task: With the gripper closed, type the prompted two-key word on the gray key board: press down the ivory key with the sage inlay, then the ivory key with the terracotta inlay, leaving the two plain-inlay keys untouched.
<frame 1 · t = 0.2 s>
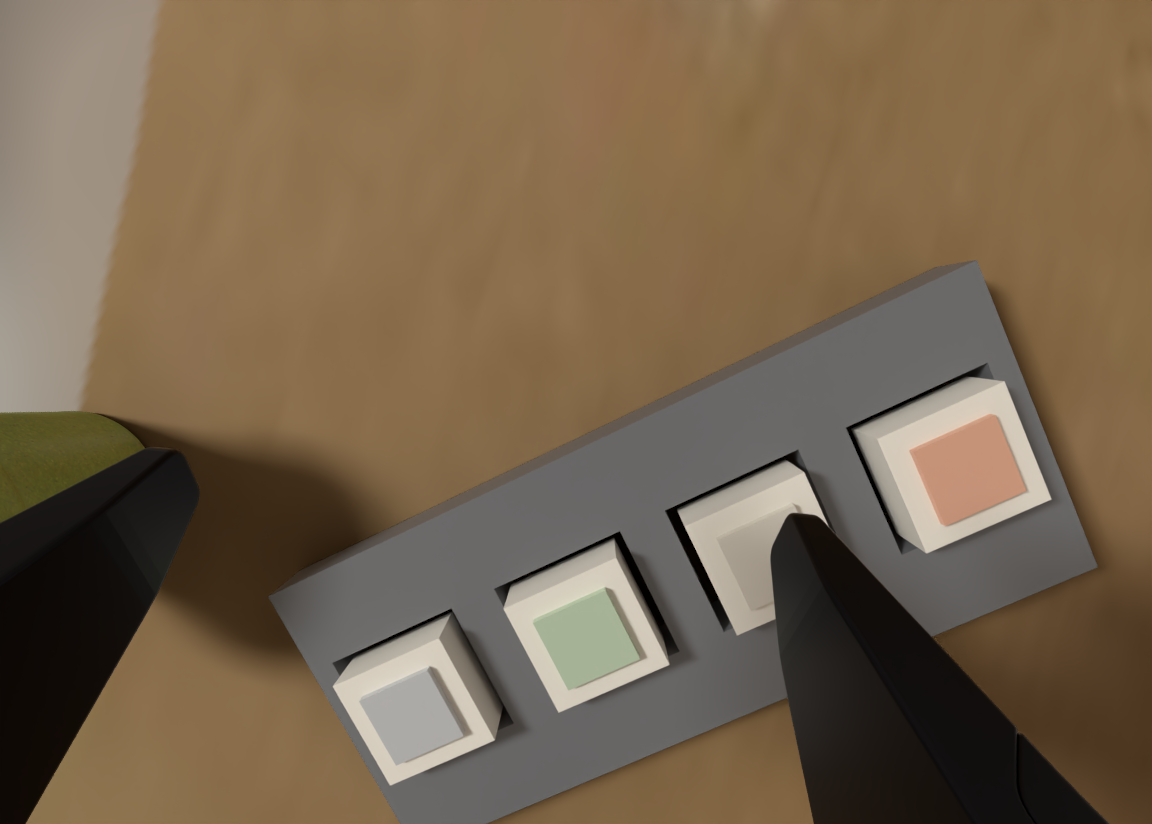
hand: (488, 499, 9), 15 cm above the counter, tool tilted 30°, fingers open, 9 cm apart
key sage: (586, 624, 22), point 3 cm above the counter, slide at 0.0 cm
key ivory: (762, 546, 21), point 3 cm above the counter, slide at 0.0 cm
plant pot: (96, 483, 25), on the counter
key terracotta: (949, 463, 21), point 3 cm above the counter, slide at 0.0 cm
gray key board: (664, 557, 24), on the counter
key slate: (420, 699, 22), point 3 cm above the counter, slide at 0.0 cm
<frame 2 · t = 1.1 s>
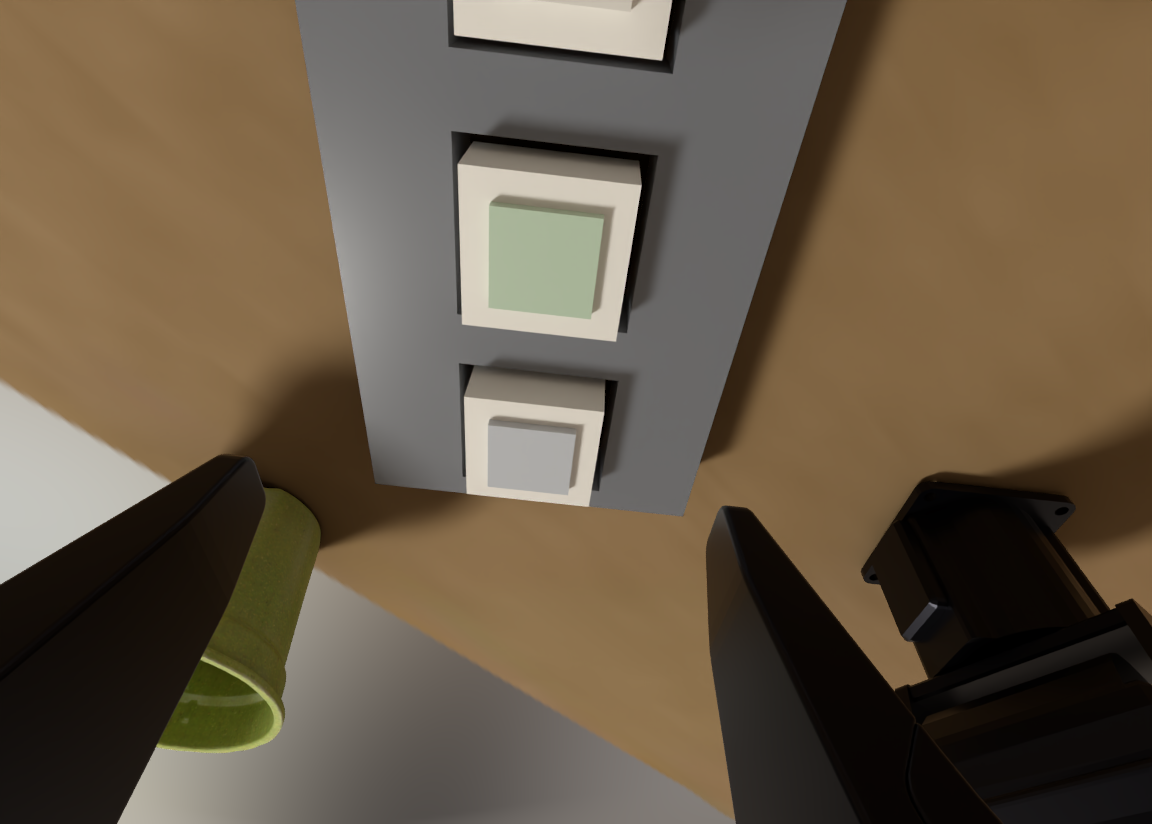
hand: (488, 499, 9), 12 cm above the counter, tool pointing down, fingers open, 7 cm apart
key sage: (547, 247, 16), point 3 cm above the counter, slide at 0.0 cm
plant pot: (261, 515, 29), on the counter
gray key board: (564, 84, 16), on the counter
key slate: (533, 438, 20), point 3 cm above the counter, slide at 0.0 cm
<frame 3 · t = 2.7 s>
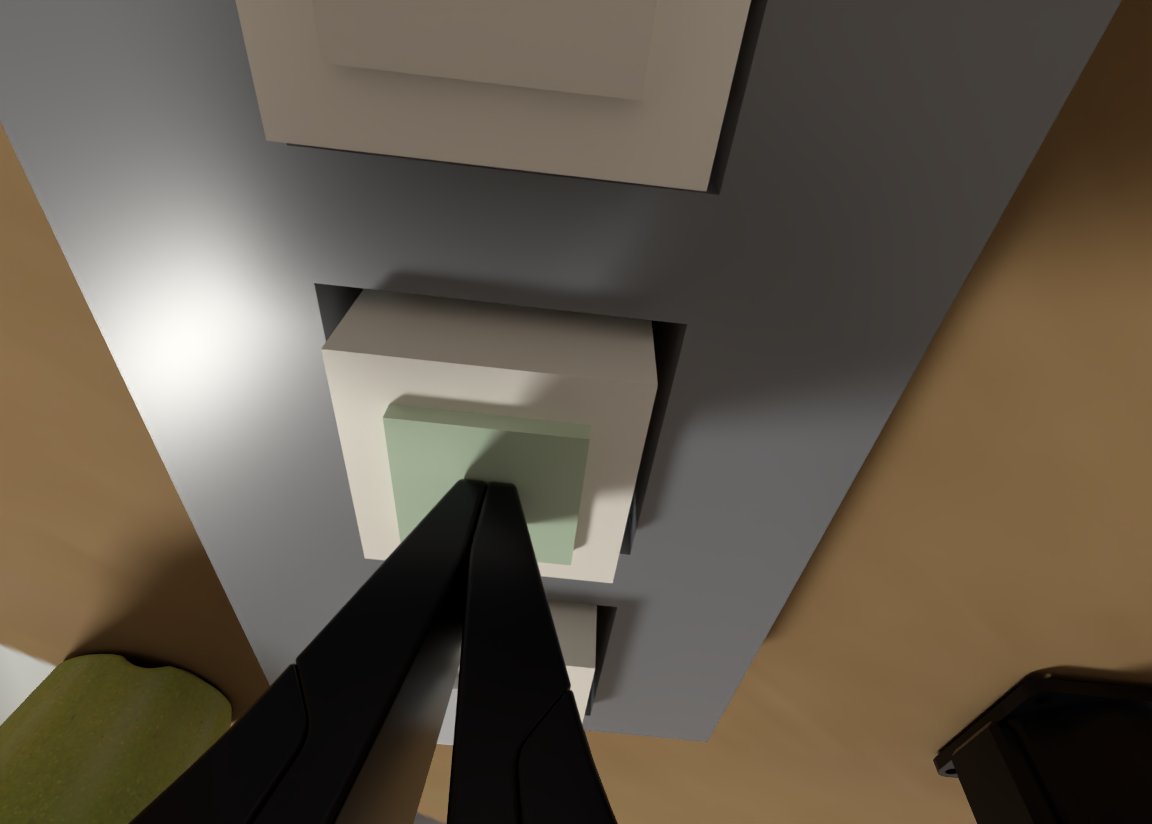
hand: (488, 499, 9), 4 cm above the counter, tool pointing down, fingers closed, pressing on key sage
key sage: (498, 447, 10), point 3 cm above the counter, slide at 0.2 cm, touching gripper
plant pot: (155, 686, 22), on the counter
gray key board: (525, 181, 10), on the counter
key slate: (492, 671, 14), point 3 cm above the counter, slide at 0.0 cm
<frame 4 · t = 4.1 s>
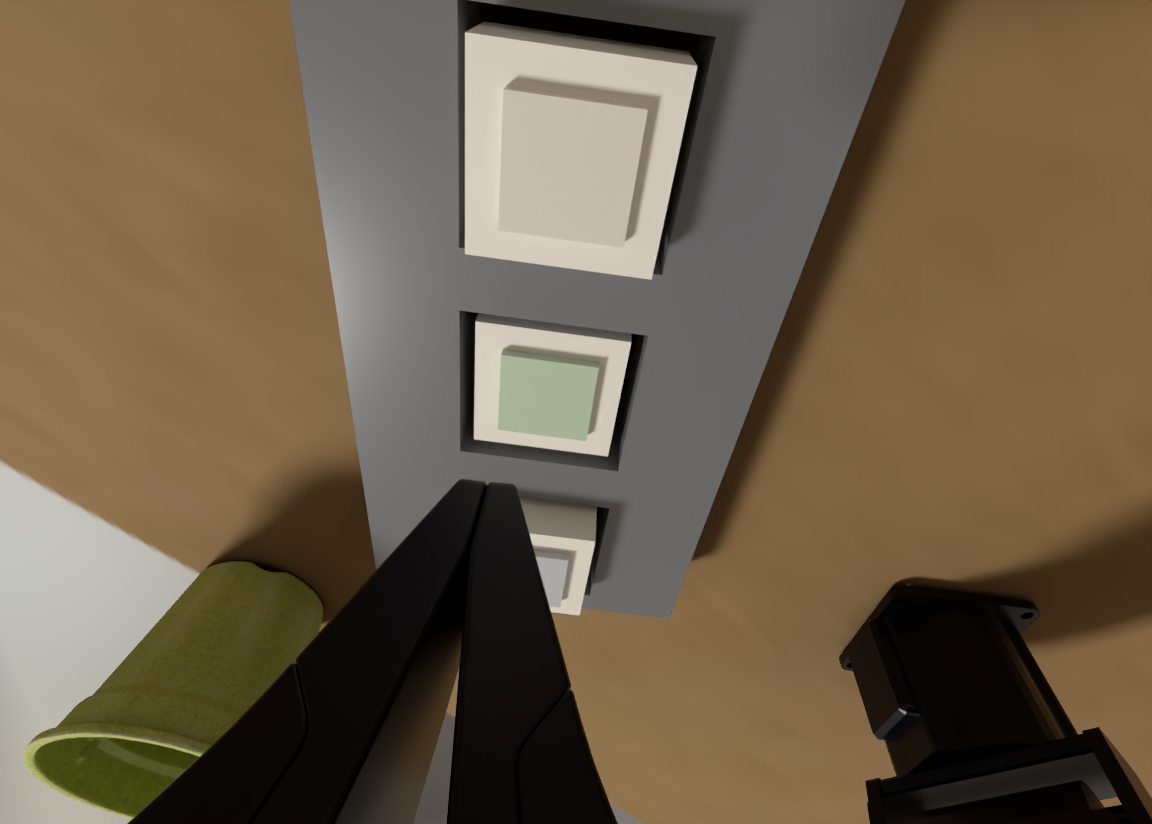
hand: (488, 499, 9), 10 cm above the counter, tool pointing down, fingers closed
key sage: (549, 378, 19), point 1 cm above the counter, slide at 1.4 cm
key ivory: (571, 158, 13), point 3 cm above the counter, slide at 0.0 cm
plant pot: (266, 592, 30), on the counter
gray key board: (564, 256, 17), on the counter
key slate: (528, 554, 22), point 3 cm above the counter, slide at 0.0 cm
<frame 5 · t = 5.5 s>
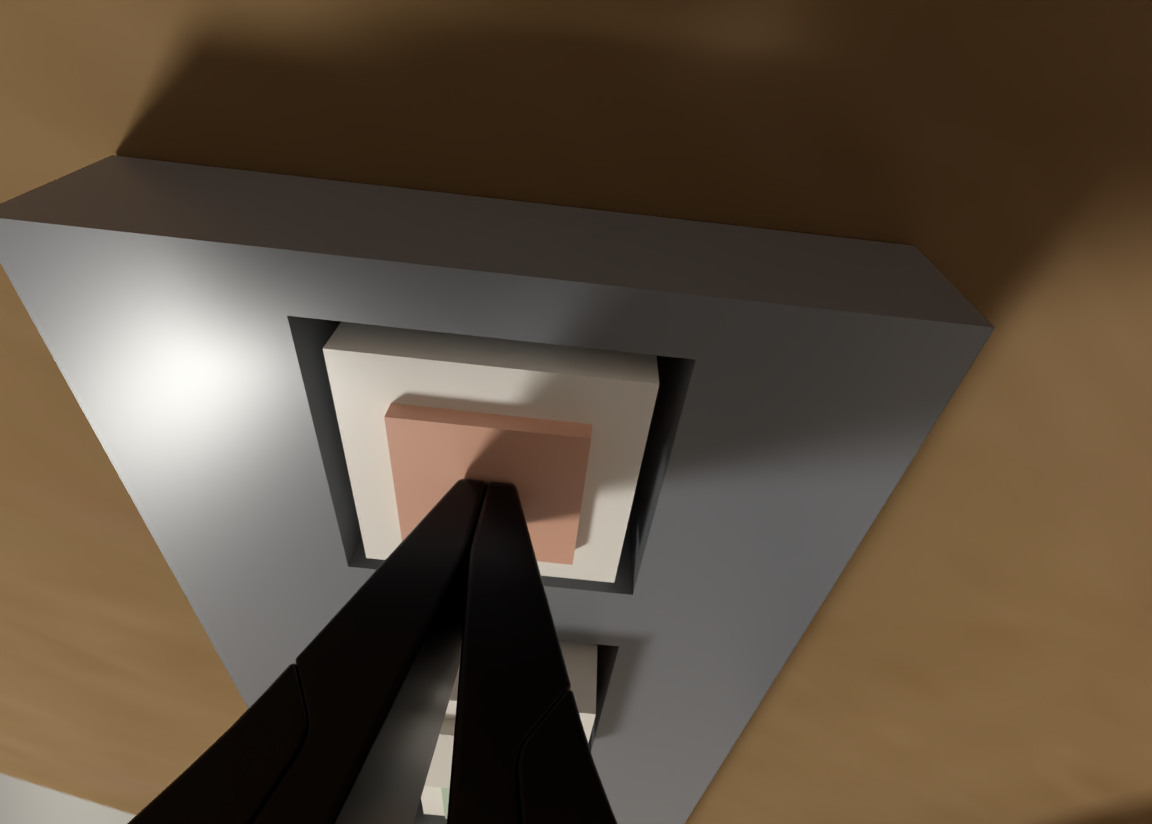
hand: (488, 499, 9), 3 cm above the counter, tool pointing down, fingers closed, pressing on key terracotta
key sage: (495, 765, 19), point 1 cm above the counter, slide at 1.4 cm
key ivory: (487, 710, 13), point 3 cm above the counter, slide at 0.0 cm
key terracotta: (499, 446, 10), point 2 cm above the counter, slide at 1.1 cm, touching gripper
gray key board: (503, 669, 18), on the counter
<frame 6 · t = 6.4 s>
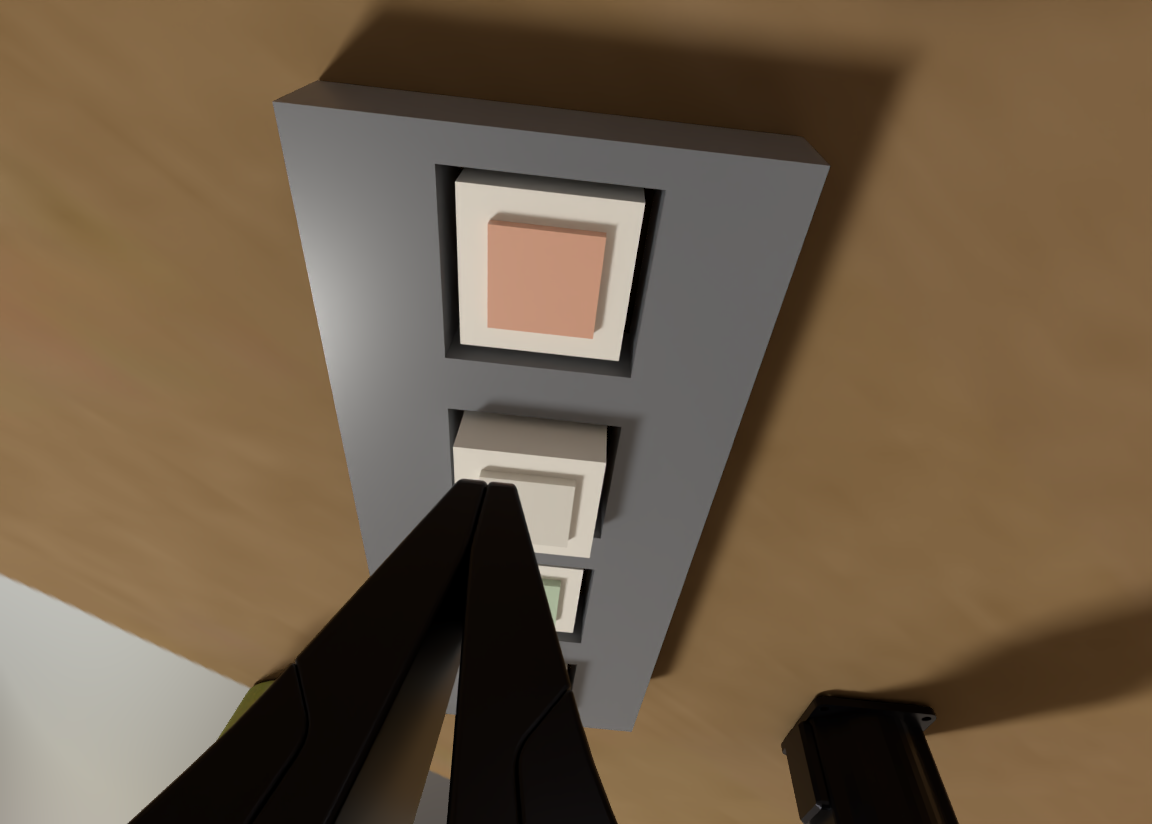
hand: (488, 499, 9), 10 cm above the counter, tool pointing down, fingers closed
key sage: (525, 579, 24), point 1 cm above the counter, slide at 1.4 cm
key ivory: (529, 486, 19), point 3 cm above the counter, slide at 0.0 cm
plant pot: (303, 698, 36), on the counter
key terracotta: (547, 265, 16), point 1 cm above the counter, slide at 1.4 cm
gray key board: (533, 498, 23), on the counter
key slate: (516, 694, 28), point 3 cm above the counter, slide at 0.0 cm
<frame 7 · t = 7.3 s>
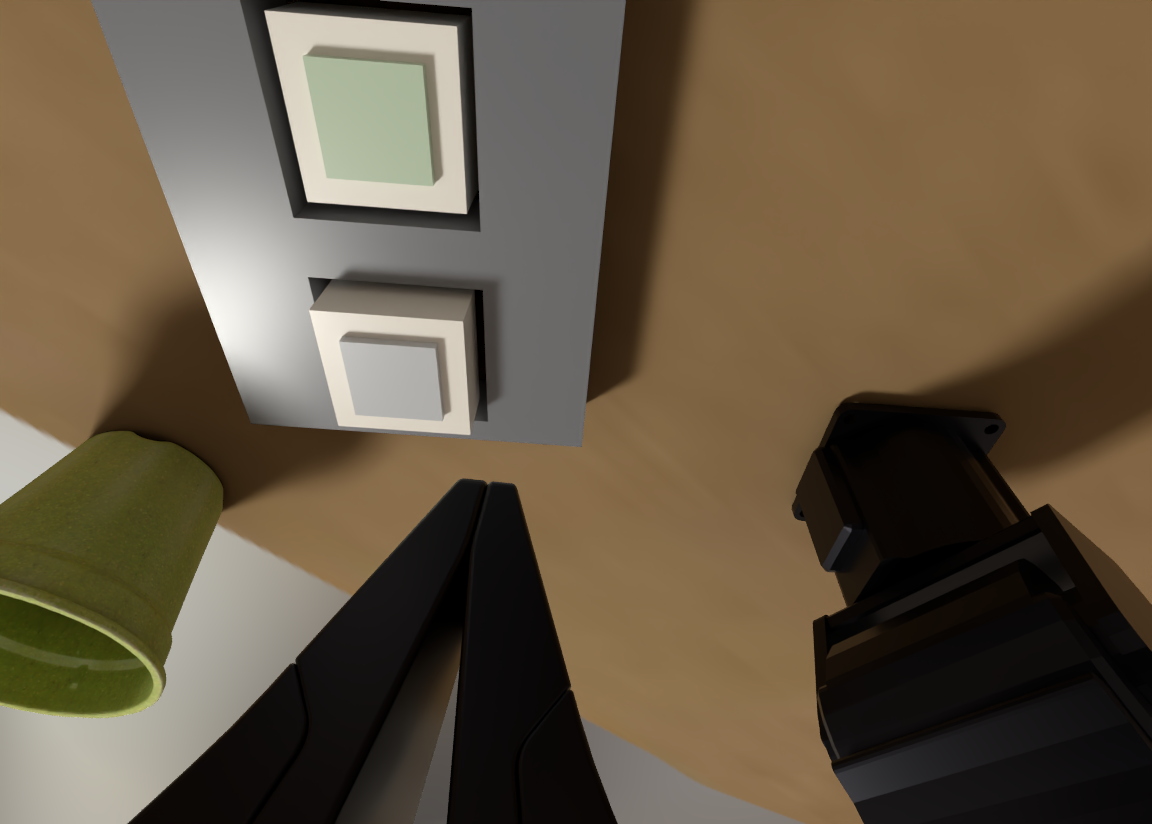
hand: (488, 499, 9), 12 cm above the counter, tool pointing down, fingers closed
key sage: (384, 113, 16), point 1 cm above the counter, slide at 1.4 cm
plant pot: (160, 474, 27), on the counter
key slate: (403, 361, 19), point 3 cm above the counter, slide at 0.0 cm
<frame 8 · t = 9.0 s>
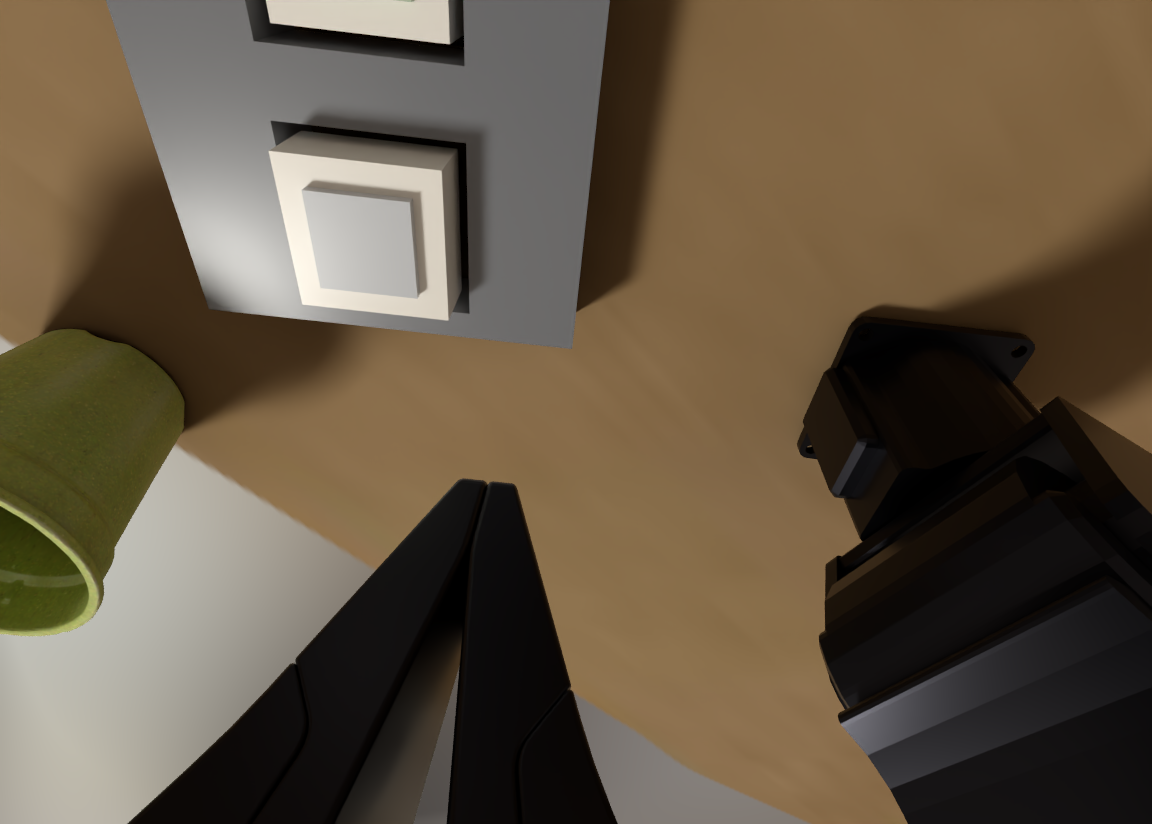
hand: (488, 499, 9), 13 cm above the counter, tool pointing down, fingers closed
plant pot: (117, 385, 25), on the counter
key slate: (375, 231, 17), point 3 cm above the counter, slide at 0.0 cm
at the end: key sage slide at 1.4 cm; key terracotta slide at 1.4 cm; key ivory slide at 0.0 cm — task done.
